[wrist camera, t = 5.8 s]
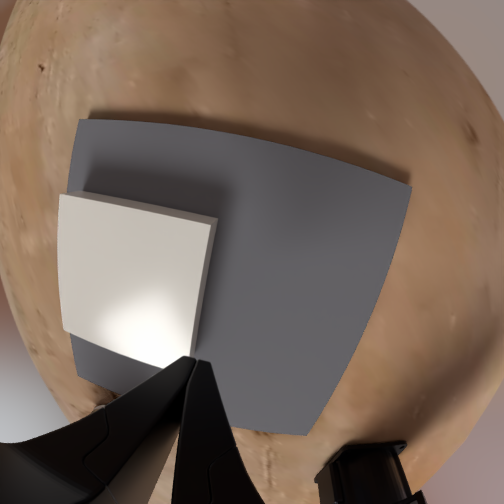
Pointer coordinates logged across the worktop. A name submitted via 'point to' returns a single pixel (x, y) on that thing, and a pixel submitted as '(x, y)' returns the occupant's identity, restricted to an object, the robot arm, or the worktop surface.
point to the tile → (132, 275)
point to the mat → (255, 259)
